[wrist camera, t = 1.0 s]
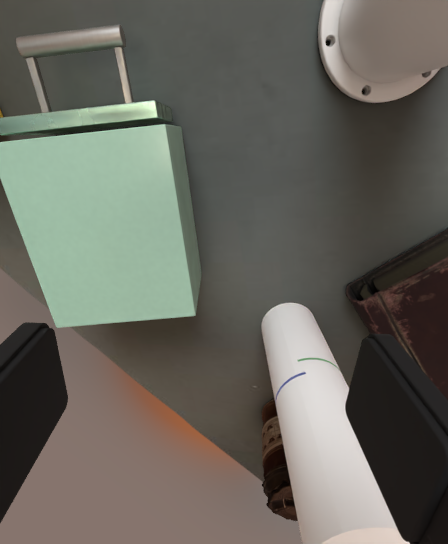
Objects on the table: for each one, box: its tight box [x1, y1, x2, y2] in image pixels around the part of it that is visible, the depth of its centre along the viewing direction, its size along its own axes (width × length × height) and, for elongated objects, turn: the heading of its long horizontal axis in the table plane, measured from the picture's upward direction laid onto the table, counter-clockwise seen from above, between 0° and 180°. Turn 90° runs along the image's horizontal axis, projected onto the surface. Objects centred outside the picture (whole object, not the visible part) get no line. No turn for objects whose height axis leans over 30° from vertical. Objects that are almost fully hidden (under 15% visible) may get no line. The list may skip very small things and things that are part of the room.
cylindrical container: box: [261, 303, 410, 544], centre depth 30 cm, size 7×7×25 cm
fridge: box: [0, 124, 202, 328], centre depth 31 cm, size 17×14×10 cm
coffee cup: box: [262, 399, 298, 521], centre depth 42 cm, size 9×8×13 cm
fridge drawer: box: [0, 25, 173, 135], centre depth 29 cm, size 21×12×8 cm, turn 6°
